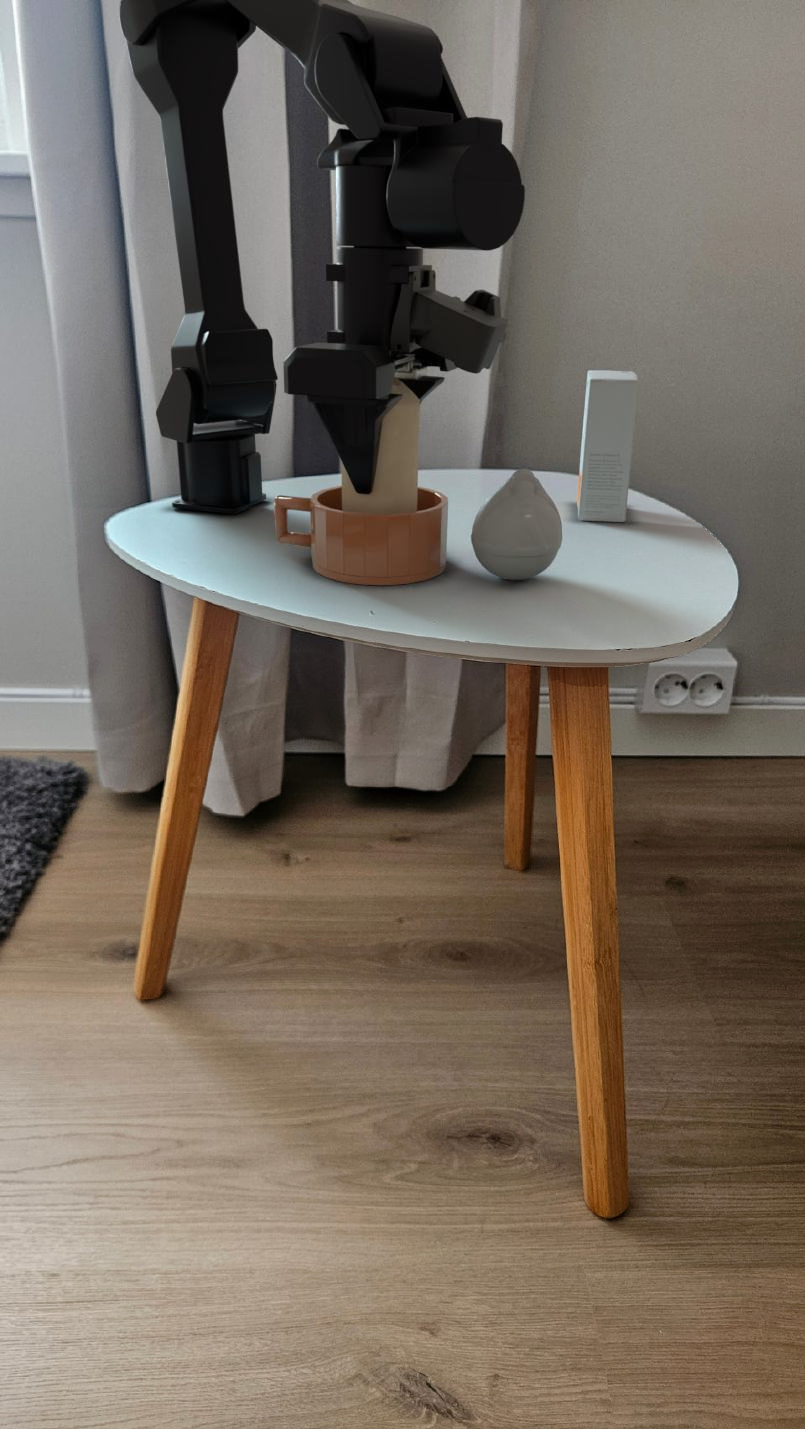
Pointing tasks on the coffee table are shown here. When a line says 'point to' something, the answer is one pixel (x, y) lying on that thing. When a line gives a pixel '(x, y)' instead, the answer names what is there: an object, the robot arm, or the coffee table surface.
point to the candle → (391, 462)
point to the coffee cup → (369, 538)
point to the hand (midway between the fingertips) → (378, 485)
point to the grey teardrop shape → (517, 529)
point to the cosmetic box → (607, 445)
